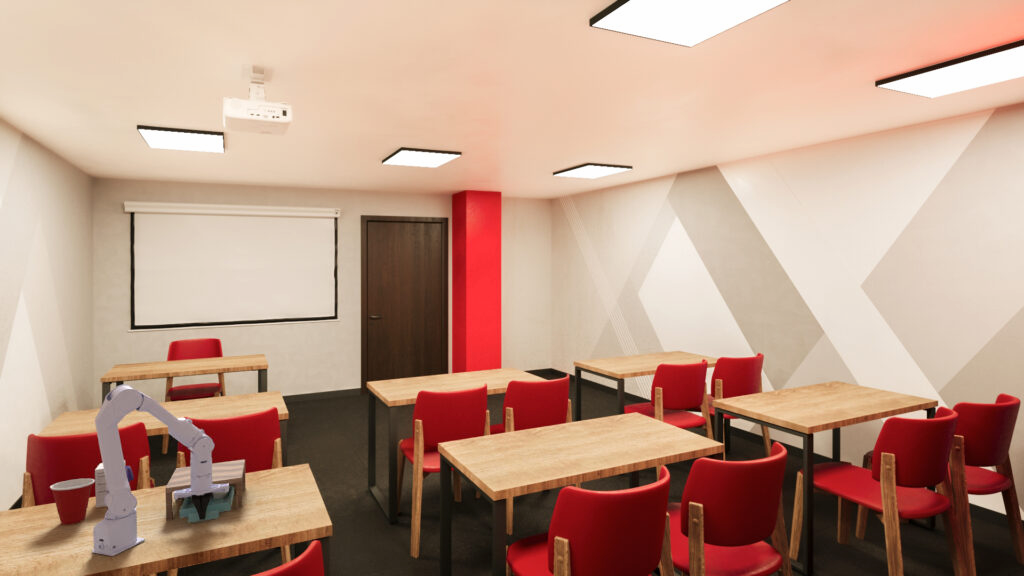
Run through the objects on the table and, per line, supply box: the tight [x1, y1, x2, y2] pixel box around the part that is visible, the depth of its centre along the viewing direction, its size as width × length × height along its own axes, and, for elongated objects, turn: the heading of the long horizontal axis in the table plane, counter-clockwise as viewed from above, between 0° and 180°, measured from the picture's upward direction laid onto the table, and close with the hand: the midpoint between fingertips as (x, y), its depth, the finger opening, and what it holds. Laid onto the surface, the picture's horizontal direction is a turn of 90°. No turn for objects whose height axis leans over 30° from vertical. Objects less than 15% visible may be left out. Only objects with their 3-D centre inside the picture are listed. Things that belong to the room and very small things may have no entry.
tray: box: [179, 486, 235, 523], centre depth 178 cm, size 21×14×6 cm, turn 23°
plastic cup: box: [49, 478, 95, 526], centre depth 170 cm, size 11×11×12 cm
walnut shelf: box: [164, 459, 247, 521], centre depth 182 cm, size 20×21×10 cm
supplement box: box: [94, 459, 126, 508], centre depth 184 cm, size 7×7×13 cm
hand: (202, 518), depth 168 cm, fingers closed
